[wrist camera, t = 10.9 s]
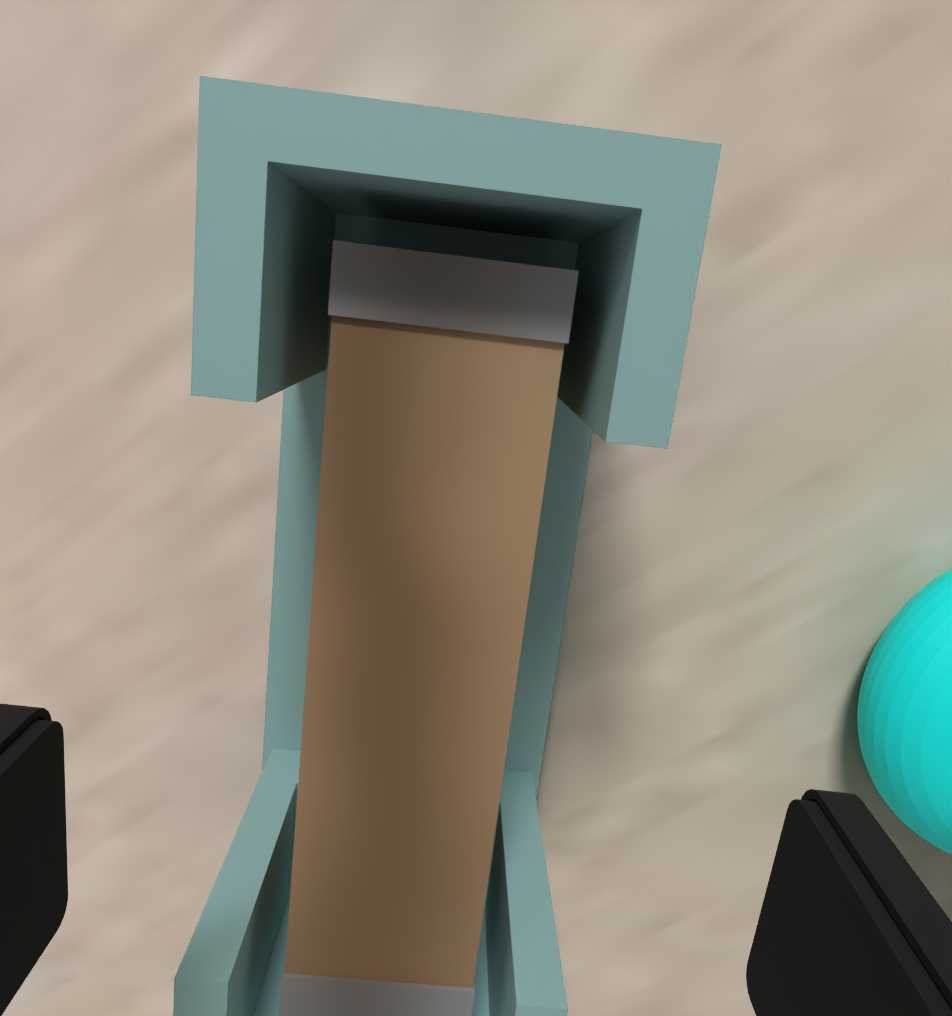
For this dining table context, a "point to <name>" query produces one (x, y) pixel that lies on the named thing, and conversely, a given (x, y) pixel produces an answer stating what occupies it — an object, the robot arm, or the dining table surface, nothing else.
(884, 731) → the donuts
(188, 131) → the dining table surface
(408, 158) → the slotted posts
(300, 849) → the brown rectangular bar
